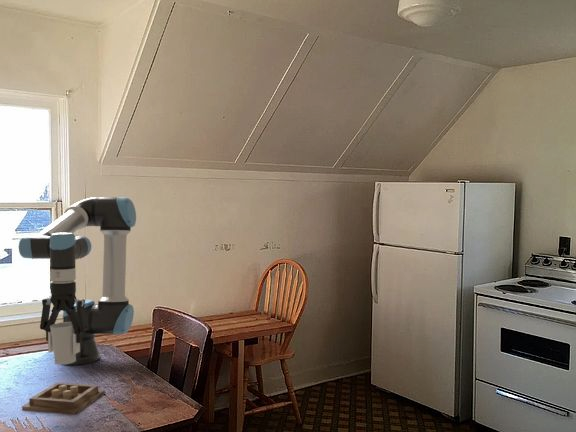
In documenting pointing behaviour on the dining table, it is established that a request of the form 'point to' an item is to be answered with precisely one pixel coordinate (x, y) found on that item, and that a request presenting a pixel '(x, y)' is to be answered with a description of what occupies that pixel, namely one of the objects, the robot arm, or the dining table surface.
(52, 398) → the peg stand
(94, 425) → the dining table surface
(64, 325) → the cup
